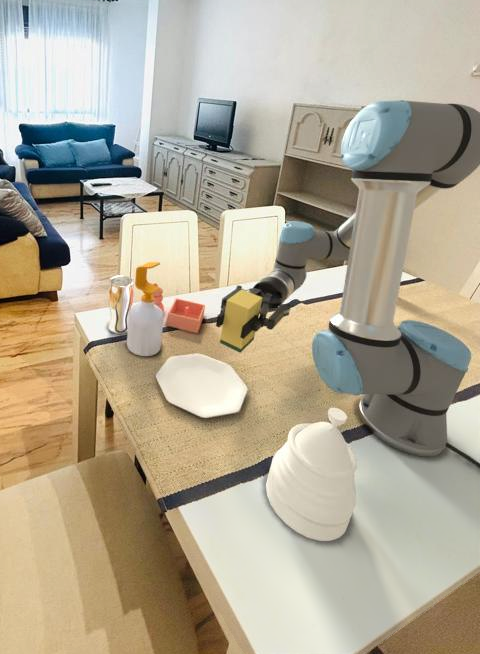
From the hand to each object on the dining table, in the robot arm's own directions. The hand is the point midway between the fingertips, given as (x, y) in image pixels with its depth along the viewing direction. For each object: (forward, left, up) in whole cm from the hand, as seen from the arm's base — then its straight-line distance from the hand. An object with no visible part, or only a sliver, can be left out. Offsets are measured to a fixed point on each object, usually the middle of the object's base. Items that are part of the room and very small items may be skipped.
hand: (230, 326), depth 81 cm
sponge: (+2, -5, -6) cm, 8 cm away
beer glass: (+31, +12, -18) cm, 38 cm away
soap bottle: (+21, +9, -18) cm, 29 cm away
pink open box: (+31, -5, -18) cm, 36 cm away
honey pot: (-26, +1, -18) cm, 32 cm away
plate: (+3, +3, -18) cm, 19 cm away
